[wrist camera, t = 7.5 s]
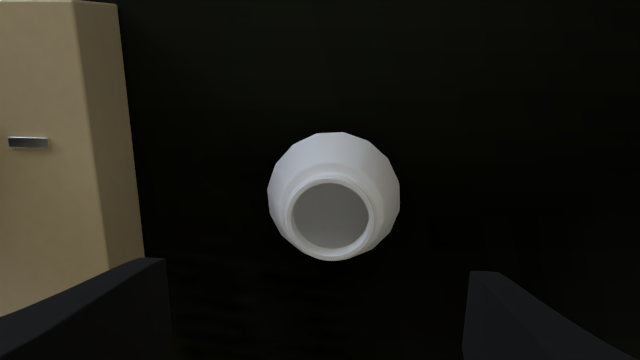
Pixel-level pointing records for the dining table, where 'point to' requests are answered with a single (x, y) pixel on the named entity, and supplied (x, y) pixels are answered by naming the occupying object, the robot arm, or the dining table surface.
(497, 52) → the dining table surface
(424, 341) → the dining table surface
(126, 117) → the panel
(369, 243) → the white jar
